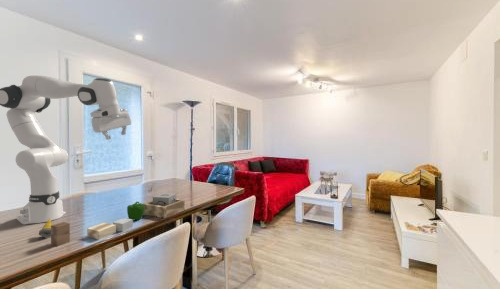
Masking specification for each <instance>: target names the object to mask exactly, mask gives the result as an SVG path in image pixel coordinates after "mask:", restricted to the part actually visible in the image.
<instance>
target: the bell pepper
mask: <svg viewBox="0 0 500 289" xmlns="http://www.w3.org/2000/svg"><path fill="white" fill-rule="evenodd" d="M142 204H143V203H142V202H141V203H140V202H139V201H135V202H134V203H132V204H129V205H127V207H126V211H127V216H128V219H133V221H135V220H136V221H139V220H141V219H142V218H143V215H144V214H143V212H144V206H143V205H142Z"/></svg>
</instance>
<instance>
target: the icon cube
mask: <svg viewBox="0 0 500 289" xmlns="http://www.w3.org/2000/svg"><path fill="white" fill-rule="evenodd" d="M176 199H177V193H176V192H175V193H172V192H171V193H170V192H160V193H158V194H157V195H154V196H152V201H153V205H158V206H167V205H170V204H172V203H175V202H176Z"/></svg>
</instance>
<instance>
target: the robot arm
mask: <svg viewBox="0 0 500 289" xmlns="http://www.w3.org/2000/svg"><path fill="white" fill-rule="evenodd" d="M73 97H77V98H78V100H79V102H80V103H82V104H83V105H84V106H98V108H97V109H95V110H93V111H92V112H90V117H91V126H92V130H93V131H94V132H95V133H99V134H100V133H102V135H103V136H104V137H105V139H106V140H111V139H112V137H111V135H109V134H108V131H112V130H115V129H119V128H121V131H120V134H121V135H122V136H124V135H125V136H126V134H127V133H126V131H127V126H130V125H132V119H131V116H130V114H129V111H128V110H127V109H126V108H121V106H120V104H119V101H118V99H117V98H118V95H117V91H116V87H115V84H114V82H113V80H111V79H110V78H106V77H105V78H103V77H98V78H94V79H93V80H92V82H90V83H88V84H81V83H76V82H72V81H67V80H63V79H60V78H55V77H51V76H48V75H47V76H46V75H27V76H26V77H25V76H24V78H23V80H22V81H21V85H16V84H10V85H9V86H4V87H0V106H1V107H3V108H7V109H8V110H7V112H6V118H7V121H8V124H9V126H10V128H11V130H12V132H13V133H14V135H15V137H16V139H17V140H18V142H19V143H20V144H22V146H25V147H27V148H29V149H25V150H22V151H20V152H18V153H17V155H16V156H15V164H16V165H17V167H18V168H20V169H22V170H23V171H24V172H25V173H26V174H27V176H28V178H29V183H30V184H29V185H30V194H29V197H28V202H27V203H26V204H25V205H24V206H23V207H22V209H20V210H19V213H20V215H19V216H17V217H16V220H17V221H18V222H19V223H20V224H22V225H30V224H40V223H45V222H46V223H47V221H48V220H49V219H50V220H51V221H55V220H58V219H60V218H62V217H63V216H64V215H66V211H64V207H63V200H62V199H60V191H59V178H58V176H56V175H55V174H53V172H52V170H51V168H53V167H59V166H60V165H63V164H65V163H66V162H67V161H68V159H69V154H68V151H67V150H66V149H64V148H63V147H60V146H58V145H57V143H55V142H54V141H52V139H51V138H49V136H48V135H47V134H46V133H45V130H44V129H43V127H42V126H41V124H40V121H38V119H37V118H36V115H35V114H36V113H41V112H43V110H45V109H47V108H48V107H49V106H50V104H51V100H52V99H65V98H73Z"/></svg>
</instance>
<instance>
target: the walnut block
mask: <svg viewBox="0 0 500 289" xmlns="http://www.w3.org/2000/svg"><path fill="white" fill-rule="evenodd" d="M70 228H71V227H70V222H66V221H61V222H57V223H55V224H52V225H51V237H50V244H51V245H52V246H56V247H59V246H62V245H65V244H68V243H70V242H71V240H70V239H71V238H70V234H71V233H70V230H71V229H70Z"/></svg>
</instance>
